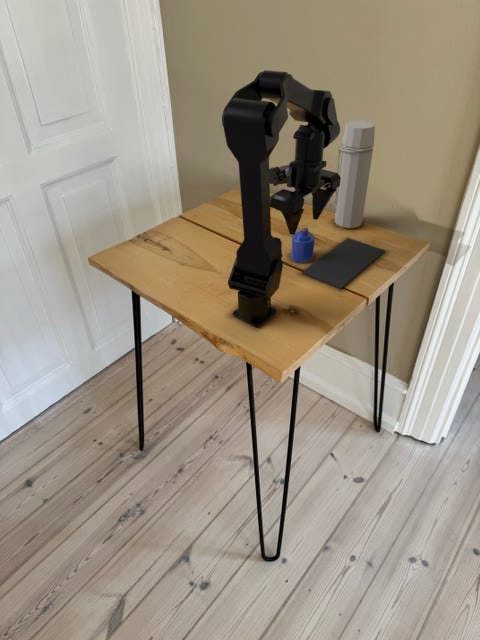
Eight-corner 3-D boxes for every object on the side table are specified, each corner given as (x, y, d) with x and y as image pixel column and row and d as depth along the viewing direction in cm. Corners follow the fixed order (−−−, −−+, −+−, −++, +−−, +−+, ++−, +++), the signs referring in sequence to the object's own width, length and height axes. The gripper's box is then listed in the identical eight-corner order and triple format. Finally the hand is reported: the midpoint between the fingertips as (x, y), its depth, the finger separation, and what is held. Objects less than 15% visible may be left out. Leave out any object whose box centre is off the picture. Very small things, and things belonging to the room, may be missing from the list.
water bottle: (360, 217, 125) (374, 119, 109) (363, 231, 118) (379, 129, 103) (326, 216, 125) (335, 119, 110) (327, 230, 119) (337, 129, 104)
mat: (340, 289, 98) (341, 287, 98) (301, 273, 103) (301, 272, 103) (384, 252, 110) (385, 250, 110) (347, 239, 115) (347, 237, 115)
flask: (305, 265, 106) (307, 234, 101) (286, 258, 109) (287, 227, 104) (317, 256, 109) (320, 225, 104) (299, 249, 112) (301, 219, 107)
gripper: (302, 138, 104) (298, 203, 114) (249, 161, 93) (249, 231, 103) (345, 147, 98) (337, 215, 108) (294, 173, 87) (290, 247, 97)
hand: (304, 226), depth 104 cm, fingers open, 9 cm apart
